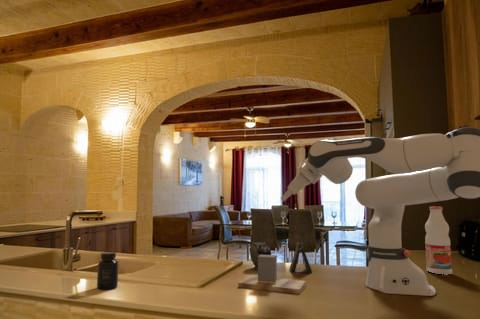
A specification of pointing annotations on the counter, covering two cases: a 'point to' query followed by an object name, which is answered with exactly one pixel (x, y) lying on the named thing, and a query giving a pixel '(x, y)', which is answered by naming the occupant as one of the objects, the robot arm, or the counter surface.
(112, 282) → the supplement bottle
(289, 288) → the board
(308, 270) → the dark brown triangular frame
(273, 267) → the sanding block
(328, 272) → the counter surface
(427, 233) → the fruit juice
